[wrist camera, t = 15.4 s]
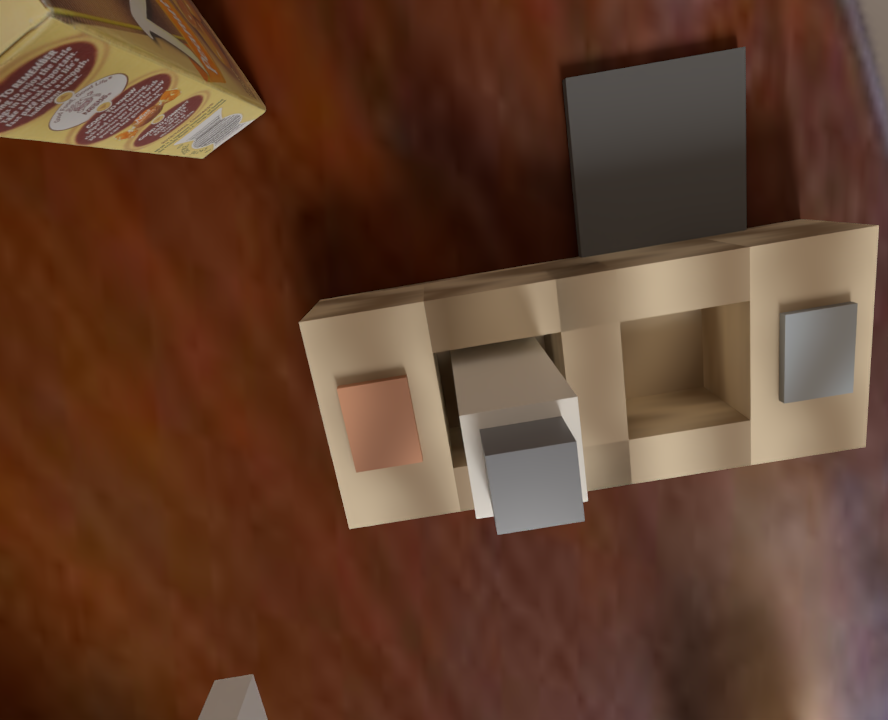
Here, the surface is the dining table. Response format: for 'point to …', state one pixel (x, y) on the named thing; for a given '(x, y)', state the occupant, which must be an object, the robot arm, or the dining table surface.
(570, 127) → the mat
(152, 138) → the candy box
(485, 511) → the plug
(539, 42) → the dining table surface
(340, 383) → the socket block
